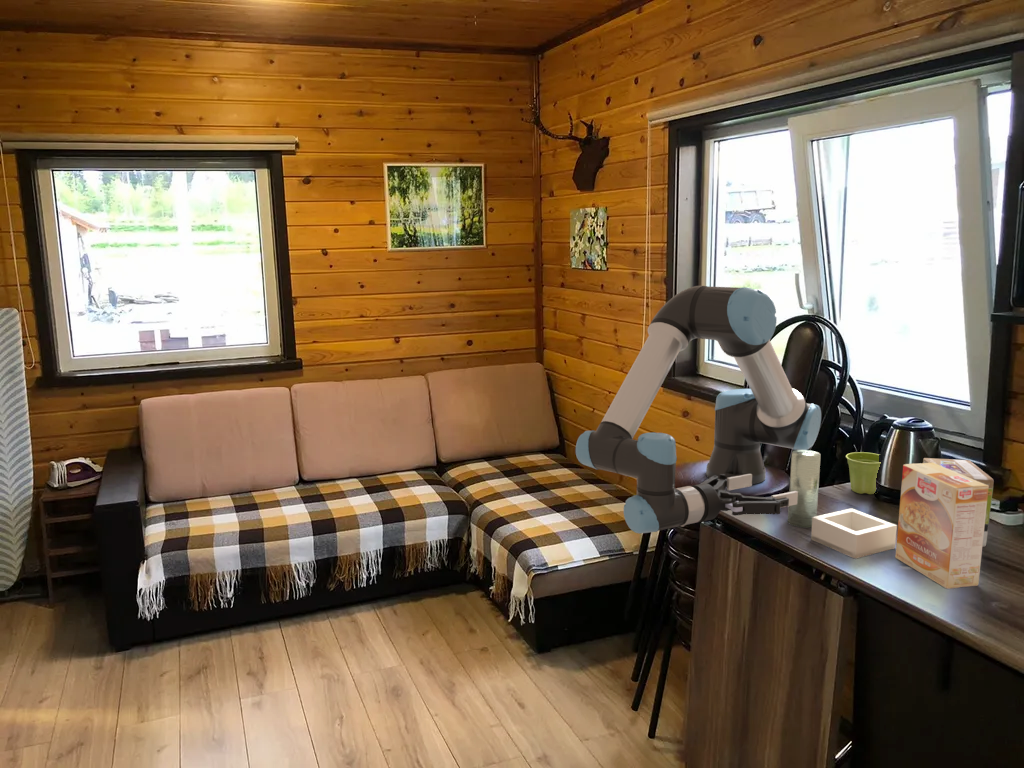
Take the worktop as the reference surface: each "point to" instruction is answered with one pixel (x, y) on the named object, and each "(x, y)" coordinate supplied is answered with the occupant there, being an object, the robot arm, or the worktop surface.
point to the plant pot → (863, 471)
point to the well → (853, 533)
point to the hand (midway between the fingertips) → (772, 488)
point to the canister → (804, 487)
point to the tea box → (974, 473)
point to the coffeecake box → (941, 524)
